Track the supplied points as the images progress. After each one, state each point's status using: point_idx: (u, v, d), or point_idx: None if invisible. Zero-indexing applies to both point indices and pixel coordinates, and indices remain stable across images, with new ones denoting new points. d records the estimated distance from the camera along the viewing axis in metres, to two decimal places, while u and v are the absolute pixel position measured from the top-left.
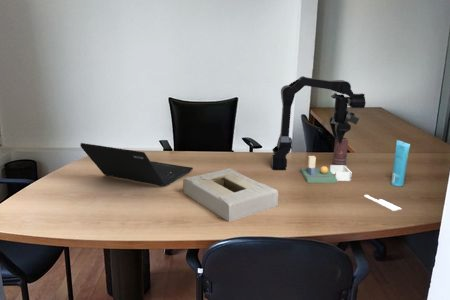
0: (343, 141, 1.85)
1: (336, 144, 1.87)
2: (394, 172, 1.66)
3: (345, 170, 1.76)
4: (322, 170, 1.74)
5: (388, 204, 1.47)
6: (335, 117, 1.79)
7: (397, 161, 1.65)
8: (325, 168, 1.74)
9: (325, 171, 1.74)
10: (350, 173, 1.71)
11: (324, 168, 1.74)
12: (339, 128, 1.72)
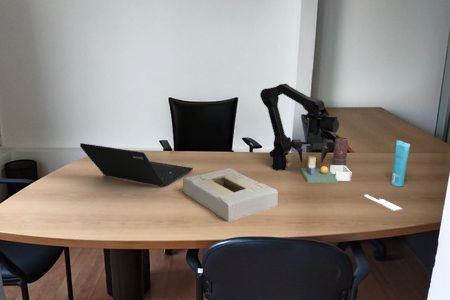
0: (343, 141, 1.85)
1: (336, 144, 1.87)
2: (394, 172, 1.66)
3: (345, 170, 1.76)
4: (322, 170, 1.74)
5: (388, 204, 1.47)
6: None
7: (397, 161, 1.65)
8: (325, 168, 1.74)
9: (325, 171, 1.74)
10: (350, 173, 1.71)
11: (324, 168, 1.74)
12: (291, 144, 1.74)
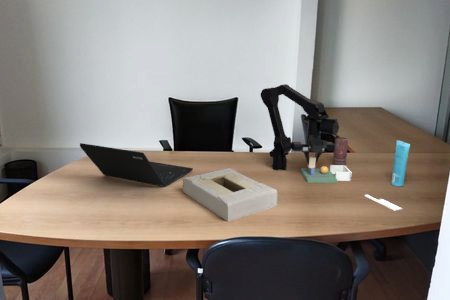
0: (343, 141, 1.85)
1: (336, 144, 1.87)
2: (394, 172, 1.66)
3: (345, 170, 1.76)
4: (322, 170, 1.74)
5: (389, 204, 1.47)
6: None
7: (397, 161, 1.65)
8: (325, 168, 1.74)
9: (325, 171, 1.74)
10: (350, 173, 1.71)
11: (324, 168, 1.74)
12: (291, 146, 1.74)
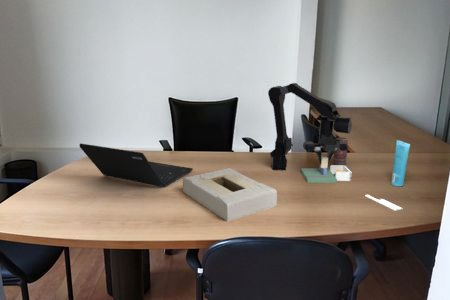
0: (343, 141, 1.85)
1: None
2: (394, 172, 1.66)
3: (345, 170, 1.76)
4: None
5: (389, 204, 1.47)
6: None
7: (397, 161, 1.65)
8: None
9: None
10: (350, 173, 1.71)
11: None
12: (303, 146, 1.74)
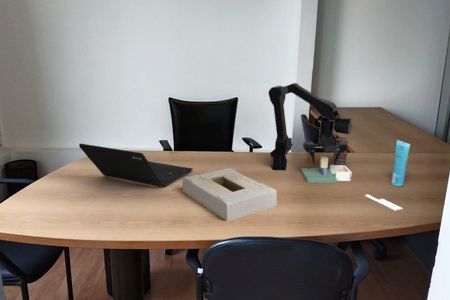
0: (343, 141, 1.85)
1: None
2: (394, 172, 1.66)
3: (345, 170, 1.76)
4: None
5: (389, 204, 1.47)
6: None
7: (397, 161, 1.65)
8: None
9: None
10: (350, 173, 1.71)
11: None
12: (303, 146, 1.74)
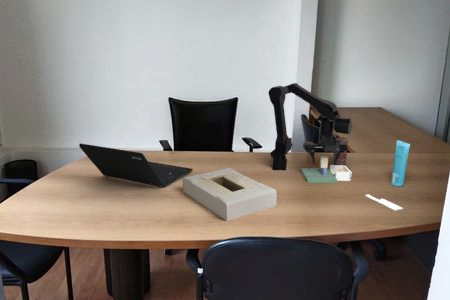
0: (343, 141, 1.85)
1: None
2: (394, 172, 1.66)
3: (345, 170, 1.76)
4: None
5: (389, 204, 1.47)
6: None
7: (397, 161, 1.65)
8: None
9: None
10: (350, 173, 1.71)
11: None
12: (303, 146, 1.74)
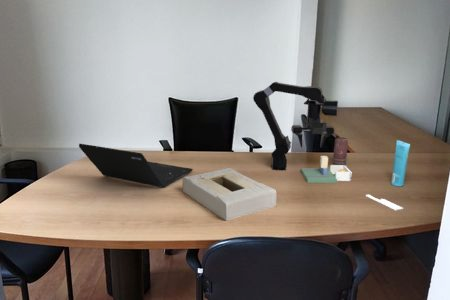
0: (343, 141, 1.85)
1: (336, 144, 1.87)
2: (394, 172, 1.66)
3: (345, 170, 1.76)
4: None
5: (390, 204, 1.47)
6: None
7: (397, 161, 1.65)
8: None
9: None
10: (350, 173, 1.71)
11: None
12: (291, 129, 1.79)
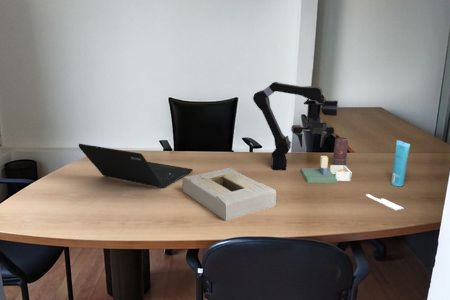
0: (343, 141, 1.85)
1: (336, 144, 1.87)
2: (394, 172, 1.66)
3: (345, 170, 1.76)
4: None
5: (390, 203, 1.47)
6: None
7: (397, 161, 1.65)
8: None
9: None
10: (350, 173, 1.71)
11: None
12: (291, 129, 1.79)
